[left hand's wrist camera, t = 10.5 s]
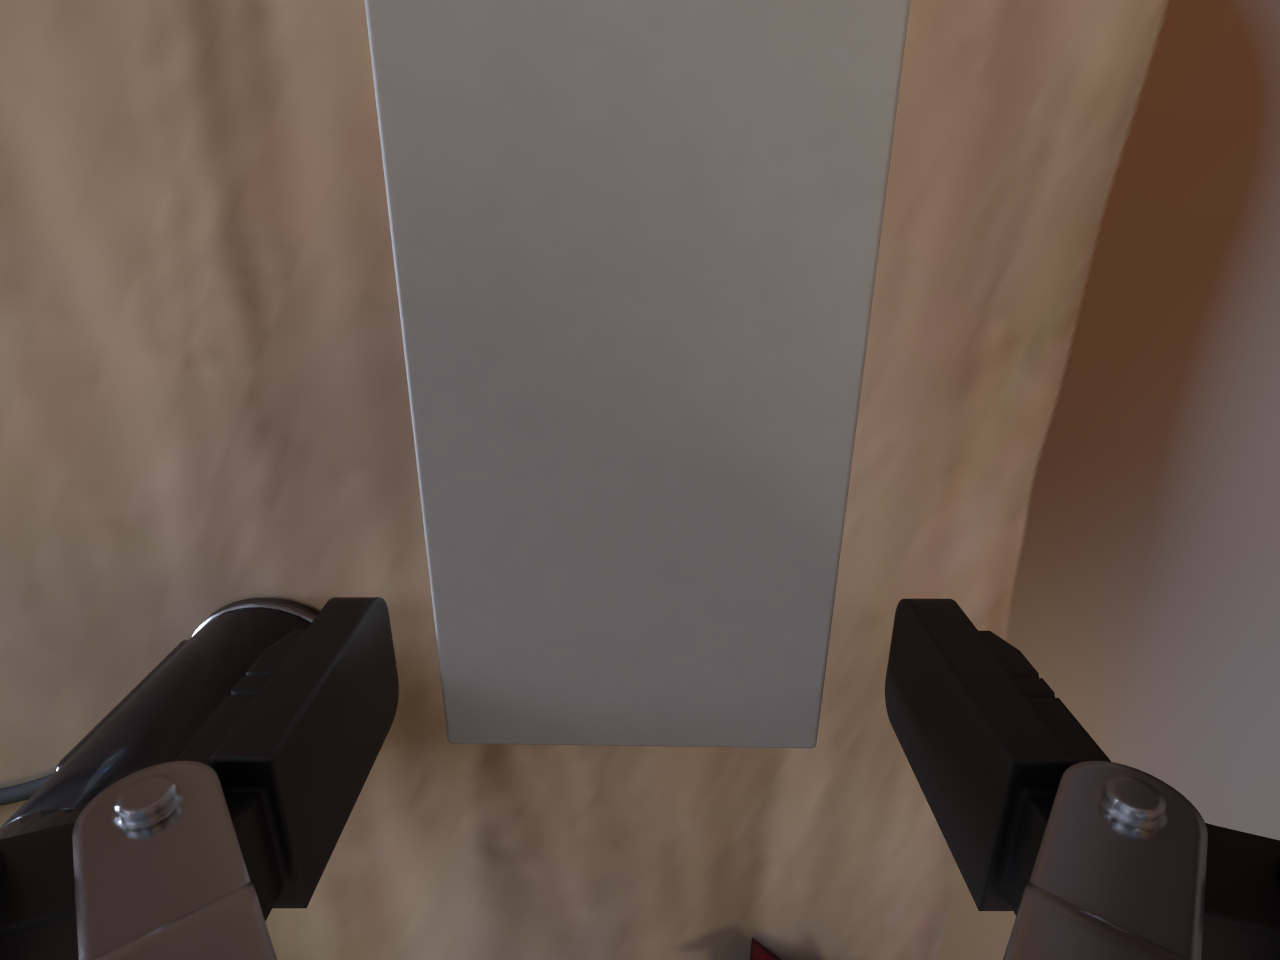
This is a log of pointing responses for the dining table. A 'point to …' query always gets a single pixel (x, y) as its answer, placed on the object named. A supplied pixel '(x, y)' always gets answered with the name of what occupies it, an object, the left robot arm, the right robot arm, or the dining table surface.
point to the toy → (761, 952)
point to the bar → (635, 348)
